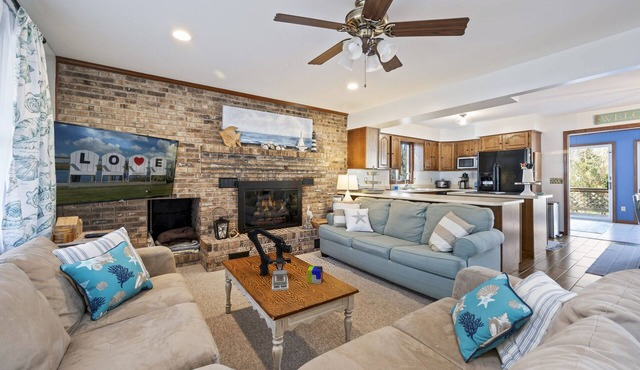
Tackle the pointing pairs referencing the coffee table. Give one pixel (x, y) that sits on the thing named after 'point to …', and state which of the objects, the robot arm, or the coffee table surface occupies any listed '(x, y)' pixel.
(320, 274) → the puzzle toy
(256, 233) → the robot arm
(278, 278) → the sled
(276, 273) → the tunnel
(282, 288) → the board
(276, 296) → the coffee table surface
